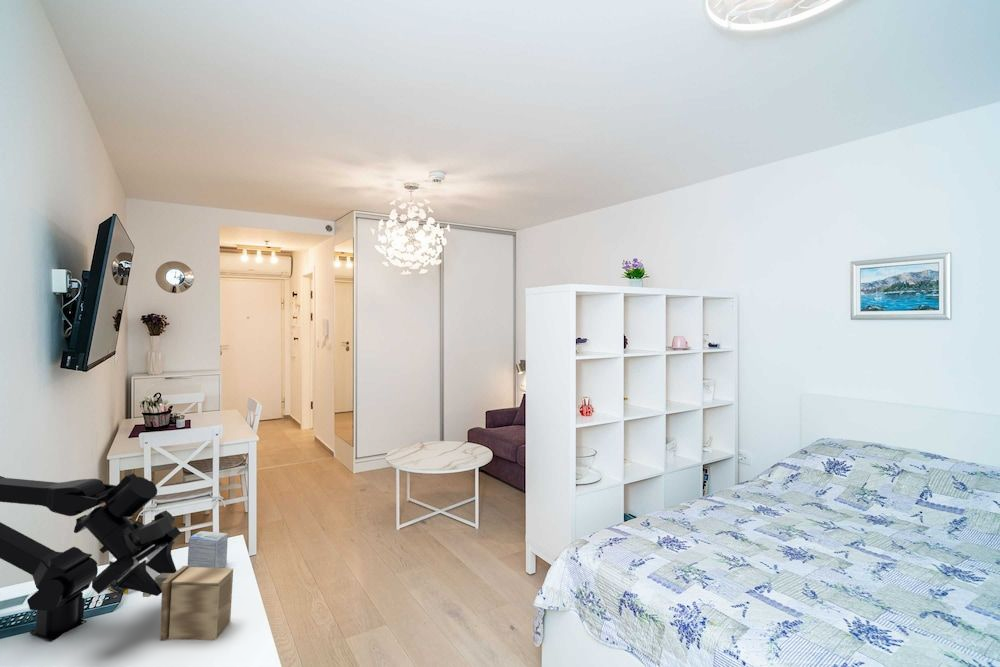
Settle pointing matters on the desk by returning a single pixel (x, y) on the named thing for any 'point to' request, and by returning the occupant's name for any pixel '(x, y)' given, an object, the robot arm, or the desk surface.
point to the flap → (166, 598)
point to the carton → (200, 603)
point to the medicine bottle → (128, 591)
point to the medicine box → (208, 550)
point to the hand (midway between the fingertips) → (168, 586)
